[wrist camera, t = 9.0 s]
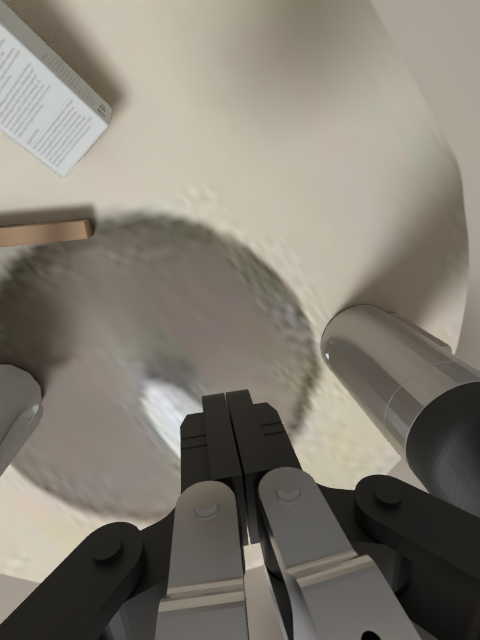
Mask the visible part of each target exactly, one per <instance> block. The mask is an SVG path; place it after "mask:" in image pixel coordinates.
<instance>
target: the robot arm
mask: <svg viewBox="0 0 480 640" xmlns="http://www.w3.org/2000/svg"><path fill="white" fill-rule="evenodd" d="M321 354H322V357H323V360H324V362H325V363H326V365H327V366H328V367H329V369H330V370H331V371H332V372H333V374H334V375H335V376H336V377H337V379H338V380H339V381H340V382H341V384H342V385H343V386H344V387H345V389H346V390H347V391H348V392H349V394H350V395H351V396H352V397H353V399H354V400H355V401H356V402H357V403H358V405H359V406H360V407H361V408H362V410H363V411H364V412H365V413H366V415H367V416H368V417H369V418H370V420H371V421H372V422H373V423H374V424H375V426H376V427H377V428H378V429H379V431H380V432H381V433H382V434H383V436H384V437H385V438H386V439H387V441H388V442H389V443H390V444H391V445H392V447H393V448H394V449H395V450H396V452H397V453H398V454H399V455H400V456H401V458H402V459H403V460H404V461H405V463H406V464H407V465H408V466H409V467H410V469H411V470H412V471H413V473H414V474H415V475H416V476H417V478H418V479H419V480H420V481H421V483H422V484H423V485H424V487H425V488H426V489H427V491H428V492H429V493H430V494H429V493H427V492H424V491H422V490H420V489H418V488H416V487H414V486H412V485H410V484H407V483H405V482H403V481H401V480H399V479H397V478H394V477H391V476H387V475H371V476H367V477H365V478H363V479H362V480H360V481H359V482H358V484H357V485H356V488H355V490H344V489H334V488H329V487H325V486H322V485H320V484H318V483H316V482H315V481H314V479H313V478H312V477H311V476H310V475H309V474H308V473H306V472H304V471H303V470H302V468H301V465H300V463H299V461H298V458H297V456H296V454H295V452H294V449H293V447H292V445H291V442H290V440H289V438H288V435H287V433H286V431H285V428H284V426H283V424H282V421H281V419H280V417H279V415H278V412H277V410H275V409H274V408H273V407H272V406H270V405H269V404H268V403H267V402H265V403H258V404H253V402H252V399H251V396H250V393H249V391H248V389H246V390H240V391H233V392H226V399H225V395H224V393H220V394H214V395H207V396H202V403H203V412H202V413H195V414H189V415H187V416H186V417H185V419H184V421H183V423H182V424H181V426H180V436H181V495H180V497H179V498H178V500H177V503H176V506H175V508H174V509H173V510H172V511H171V513H169V514H168V515H167V516H166V517H165V518H163V519H162V520H160V521H159V522H157V523H155V524H153V525H151V526H149V527H147V528H145V529H143V530H141V531H140V530H139V529H138V528H137V527H136V526H134V525H133V524H130V523H127V522H114V523H110V524H107V525H104V526H102V527H100V528H98V529H97V530H95V531H94V532H92V533H91V534H90V535H89V536H87V537H86V538H85V539H84V540H83V541H82V542H81V543H80V544H79V545H78V546H77V547H76V548H75V549H74V550H73V551H72V552H71V553H70V555H69V556H68V557H67V558H66V559H65V560H64V561H63V562H62V563H61V564H60V565H59V566H58V567H57V568H56V569H55V570H54V571H53V572H52V573H51V574H50V575H49V576H48V577H47V578H46V579H45V580H44V581H43V582H42V583H41V584H40V585H39V586H38V587H37V588H36V589H35V590H34V591H33V592H32V593H31V594H30V595H29V596H28V597H27V598H26V599H25V600H24V601H23V602H22V603H21V604H20V605H19V606H18V607H17V608H16V609H15V610H14V611H13V612H12V613H11V614H10V615H9V616H8V618H7V619H5V620H4V621H3V623H1V624H0V640H249V628H248V618H247V607H246V597H245V585H244V574H245V558H244V548H243V546H246V545H248V534H247V527H248V532H249V537H250V542H251V544H255V543H260V544H261V549H262V553H263V558H264V571H265V576H266V579H267V583H268V586H269V590H270V593H271V596H272V600H273V603H274V606H275V609H276V613H277V616H278V620H279V623H280V626H281V629H282V633H283V636H284V640H480V371H479V370H477V369H476V368H474V367H472V366H471V365H469V364H468V363H466V362H464V361H463V360H461V359H460V358H458V357H456V356H455V355H453V354H452V350H451V347H450V346H449V345H448V344H446V343H445V342H443V341H441V340H440V339H438V338H436V337H435V336H433V335H431V334H430V333H428V332H427V331H425V330H423V329H422V328H420V327H418V326H417V325H415V324H413V323H412V322H410V321H408V320H407V319H405V318H403V317H402V316H400V315H399V314H397V313H387V312H385V311H384V310H382V309H380V308H379V307H376V306H373V305H356V306H353V307H350V308H348V309H346V310H344V311H342V312H340V313H339V314H338V315H337V316H336V317H334V318H333V320H332V321H331V322H330V323H329V324H328V326H327V328H326V329H325V331H324V334H323V337H322V341H321ZM246 522H247V523H246Z"/></svg>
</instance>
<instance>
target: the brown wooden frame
mask: <svg viewBox="0 0 480 640" xmlns="http://www.w3.org/2000/svg"><path fill="white" fill-rule="evenodd" d="M93 235H94V234H93V229H92V225H91V220H90V218H89V219H78V220H66V221H55V222H44V223H33V224H21V225H10V226H0V247H6V246H16V245H27V244H37V243H47V242H58V241H68V240H79V239H88V238H89V237H91V236H93Z"/></svg>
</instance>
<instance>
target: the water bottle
mask: <svg viewBox="0 0 480 640" xmlns="http://www.w3.org/2000/svg"><path fill="white" fill-rule="evenodd" d="M41 402H42V398H41V388H40V386H39V384H38V383H37V382H36V381H35V379H34V378H33V377H32V376H31V375H30V373H28V372H26V371H24V370H22V369H19V368H17V367H15V366H13V365H0V476H1V475H2V474H3V472H4V471H5V469H6V468H7V467H8V465H9V464H10V463H11V461H12V460H13V459H14V457H15V456H16V454H17V453H18V452H19V450H20V449H21V448H22V446H23V445H24V444H25V442H26V441H27V439H28V438H29V437H30V435H31V434H32V433H33V431H34V430H35V428H36V427H37V426H38V424H39V422H40V420H41V417H42V415H43V407H42V404H41ZM35 413H36V414H35ZM34 414H35V416H34ZM33 416H34V418H33V420H32V421H31V423H30V424H29V422H30V420H31V419H32V417H33ZM28 424H29V425H28ZM27 425H28V427H27ZM26 427H27V428H26ZM24 430H25V431H24Z"/></svg>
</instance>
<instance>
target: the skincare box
mask: <svg viewBox="0 0 480 640" xmlns="http://www.w3.org/2000/svg"><path fill="white" fill-rule="evenodd" d="M112 111H113V110H112V108H111V107H110V106H109V105H108V104H107V103H106V102H105V101H104V100H103V99H102V98H101V97H100V96H99V95H98V94H97V93H96V92H95V91H94V90H93V89H92V88H91V87H90V86H89V85H88V84H87V83H86V82H85V81H84V80H83V79H82V78H81V77H80V76H79V75H78V74H77V73H76V72H75V71H74V70H73V69H72V68H71V67H69V66H68V65H67V64H66V63H65V62H64V61H63V60H62V59H61V58H60V57H59V56H58V55H57V54H56V53H55V52H54V51H53V50H52V49H51V48H50V47H49V46H48V45H47V44H46V43H45V42H44V41H43V40H42V39H41V38H40V37H39V36H38V35H37V34H36V33H35V32H34V31H32V30H31V29H30V28H29V27H28V26H27V25H26V24H25V23H24V22H23V21H22V20H21V19H20V18H19V17H18V16H17V15H16V14H15V13H14V12H13V11H12V10H11V9H10V8H9V7H8V6H7V5H6V4H5V3H4V2H3V1H2V0H0V131H1V132H3V133H4V134H5V135H7V136H8V137H9V138H11V139H12V140H13V141H15V142H16V143H17V144H18V145H20V146H21V147H22V148H24V149H25V150H26V151H28V152H29V153H30V154H31V155H33V156H34V157H35V158H37V159H38V160H39V161H41V162H42V163H43V164H44V165H46V166H47V167H49V168H50V169H51V170H52V171H54V172H55V173H56V174H58V175H59V176H61V177H62V178H64V177H65V176H66V175H67V174H68V173H69V172H70V170H71V169H72V168H73V167H74V166H75V165H76V163H77V162H78V161H79V160H80V159H81V158H82V156H83V155H84V154H85V153H86V152H87V151H88V149H89V148H90V147H91V146H92V145H93V144H94V143H95V141H96V140H97V139H98V138H99V137H100V136H101V134H102V133H103V132H104V131H105V130H106V128H107V127H108V126H109V123H110V119H111V114H112Z"/></svg>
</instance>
